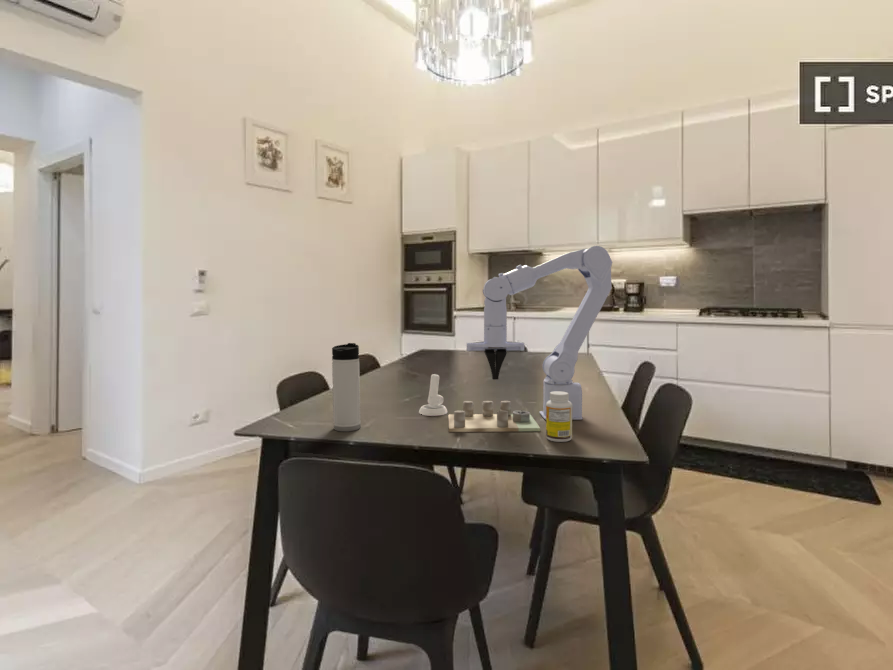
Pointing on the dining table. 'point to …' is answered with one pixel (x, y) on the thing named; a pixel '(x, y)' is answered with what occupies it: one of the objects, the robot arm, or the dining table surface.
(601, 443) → the dining table surface
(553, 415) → the supplement bottle
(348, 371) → the travel mug
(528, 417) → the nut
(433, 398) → the hook
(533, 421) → the felt mat
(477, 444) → the dining table surface
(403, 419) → the dining table surface
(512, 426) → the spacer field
